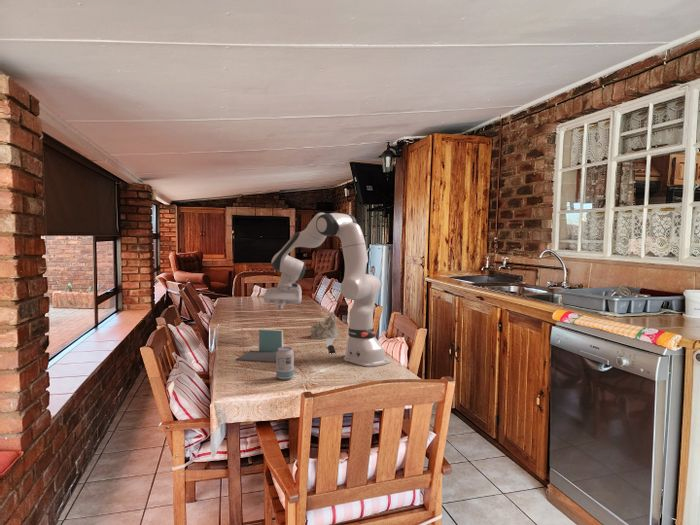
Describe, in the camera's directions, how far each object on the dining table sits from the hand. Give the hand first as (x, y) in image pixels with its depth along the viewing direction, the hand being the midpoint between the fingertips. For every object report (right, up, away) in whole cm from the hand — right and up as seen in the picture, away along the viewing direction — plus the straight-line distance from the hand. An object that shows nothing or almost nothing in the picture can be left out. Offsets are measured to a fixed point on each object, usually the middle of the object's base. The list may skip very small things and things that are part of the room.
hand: (279, 308), depth 229 cm
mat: (-4, -21, -21) cm, 30 cm away
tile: (-2, -20, -11) cm, 23 cm away
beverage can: (+11, -23, -52) cm, 57 cm away
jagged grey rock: (+22, -18, +24) cm, 37 cm away
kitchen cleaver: (+25, -20, +1) cm, 32 cm away
